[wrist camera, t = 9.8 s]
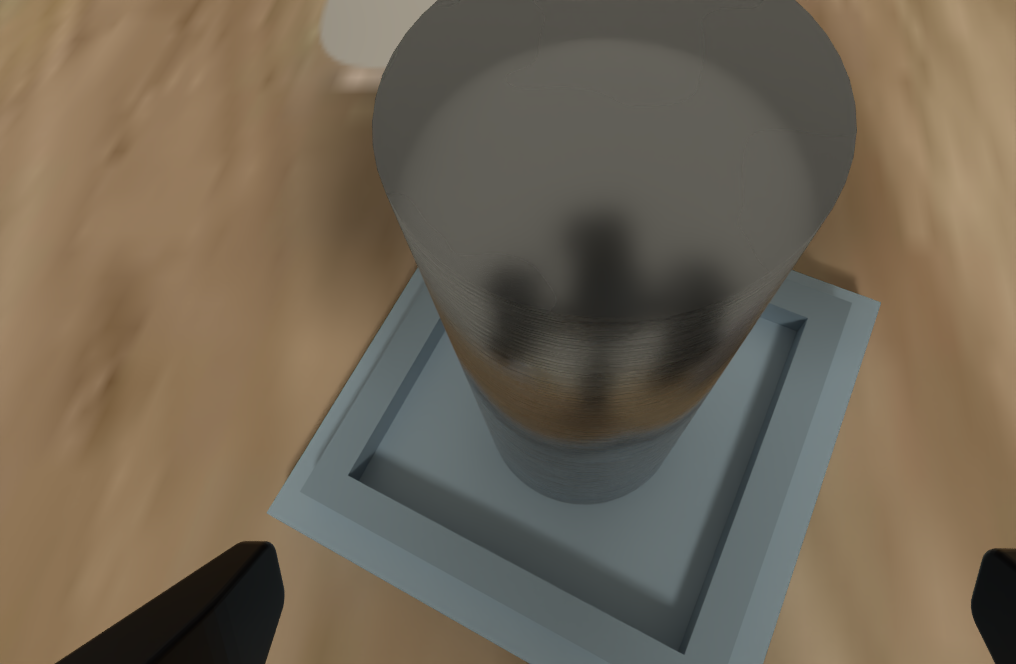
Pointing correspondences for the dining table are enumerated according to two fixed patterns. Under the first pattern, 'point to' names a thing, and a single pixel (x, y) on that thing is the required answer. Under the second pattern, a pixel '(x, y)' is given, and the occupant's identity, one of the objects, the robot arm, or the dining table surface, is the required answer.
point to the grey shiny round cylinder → (607, 207)
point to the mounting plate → (597, 527)
